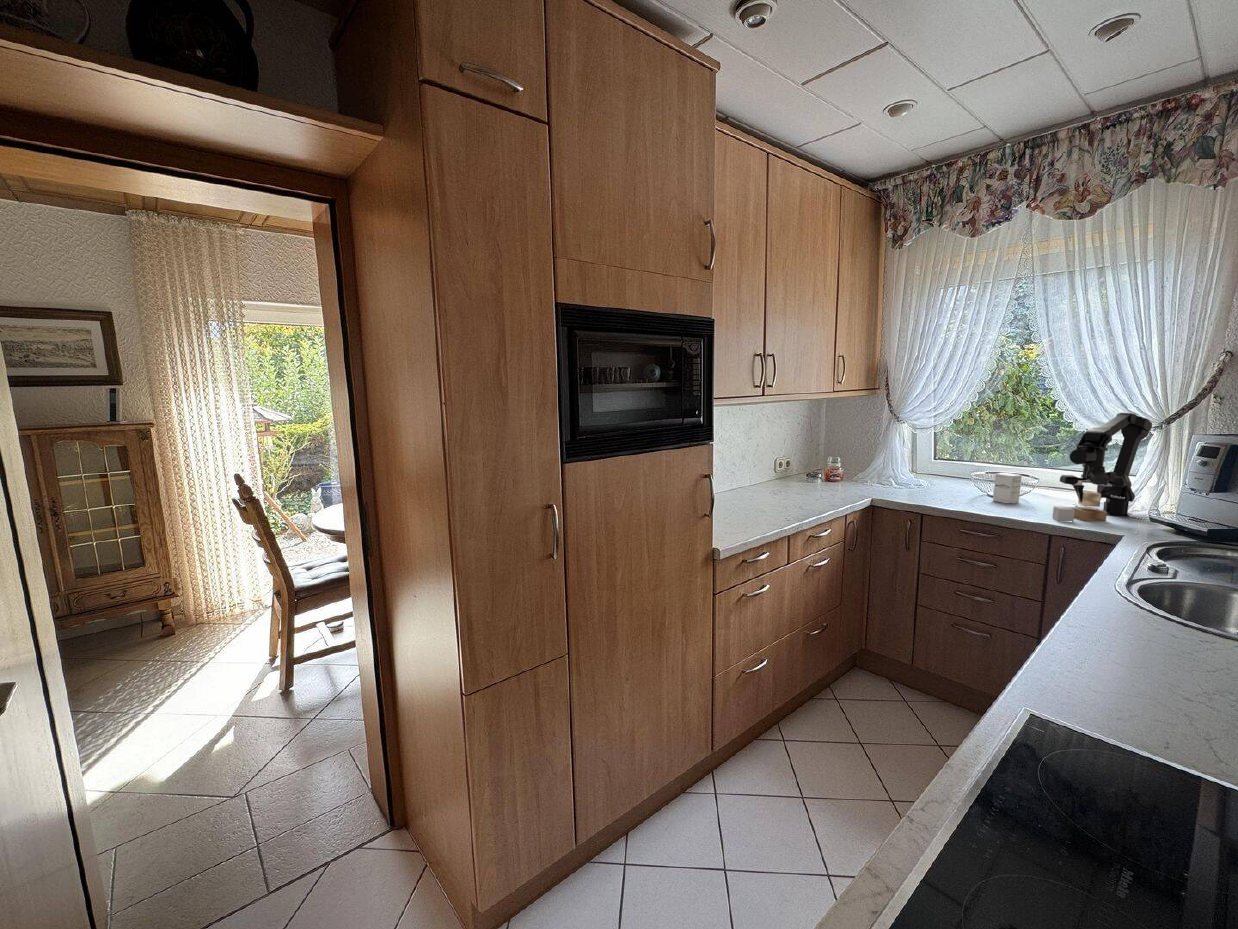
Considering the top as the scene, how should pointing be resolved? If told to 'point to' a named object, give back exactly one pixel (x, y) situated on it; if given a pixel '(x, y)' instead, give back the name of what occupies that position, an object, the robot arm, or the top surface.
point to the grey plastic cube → (1063, 513)
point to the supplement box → (1007, 488)
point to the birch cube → (1090, 499)
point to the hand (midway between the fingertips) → (1089, 502)
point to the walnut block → (1089, 514)
